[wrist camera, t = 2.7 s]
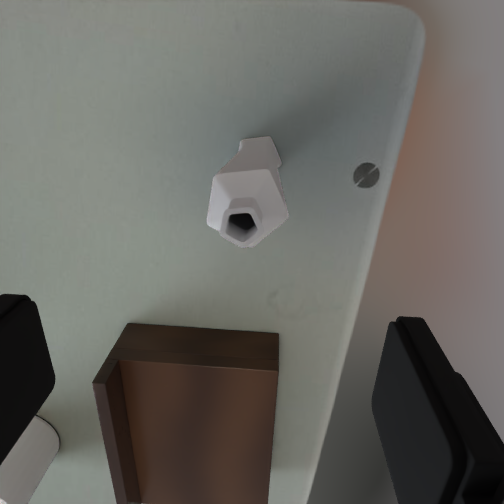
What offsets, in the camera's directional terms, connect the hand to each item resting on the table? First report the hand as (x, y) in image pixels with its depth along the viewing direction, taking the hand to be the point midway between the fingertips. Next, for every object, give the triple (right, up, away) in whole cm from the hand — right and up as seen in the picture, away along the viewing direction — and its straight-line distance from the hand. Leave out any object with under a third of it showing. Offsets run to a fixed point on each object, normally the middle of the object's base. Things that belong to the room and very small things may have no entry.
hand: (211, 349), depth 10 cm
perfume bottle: (+2, +11, +22) cm, 24 cm away
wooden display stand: (-4, -15, +34) cm, 38 cm away
